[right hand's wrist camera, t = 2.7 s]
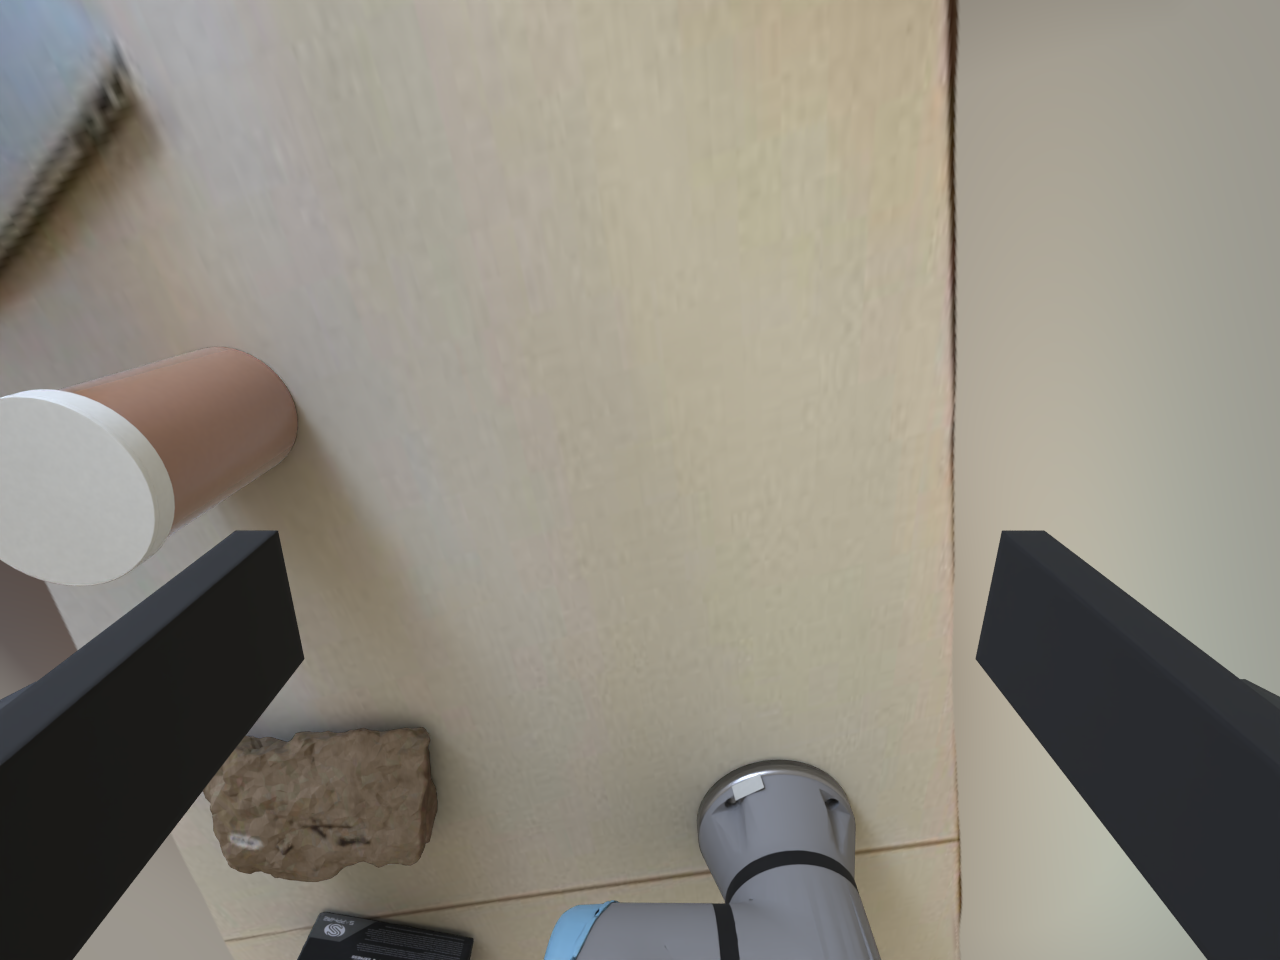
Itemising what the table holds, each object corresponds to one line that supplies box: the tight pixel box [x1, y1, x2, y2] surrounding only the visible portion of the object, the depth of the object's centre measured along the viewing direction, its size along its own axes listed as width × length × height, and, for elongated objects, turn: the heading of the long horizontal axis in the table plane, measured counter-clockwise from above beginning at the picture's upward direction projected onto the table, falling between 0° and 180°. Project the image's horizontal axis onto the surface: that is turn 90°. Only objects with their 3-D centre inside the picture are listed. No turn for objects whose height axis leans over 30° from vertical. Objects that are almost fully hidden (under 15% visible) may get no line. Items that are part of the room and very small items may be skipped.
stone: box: [203, 727, 437, 882], centre depth 63 cm, size 21×15×6 cm
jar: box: [58, 347, 298, 538], centre depth 45 cm, size 10×10×17 cm
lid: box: [0, 389, 175, 586], centre depth 38 cm, size 11×11×2 cm
